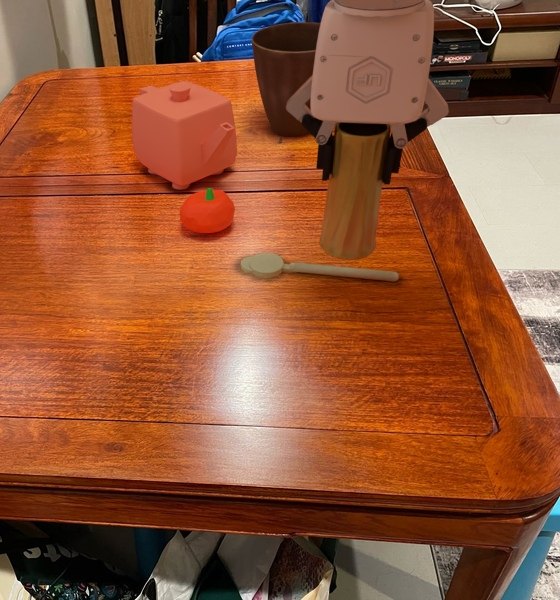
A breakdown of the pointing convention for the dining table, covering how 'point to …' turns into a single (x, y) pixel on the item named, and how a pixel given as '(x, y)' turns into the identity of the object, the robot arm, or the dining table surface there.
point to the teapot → (183, 132)
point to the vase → (354, 190)
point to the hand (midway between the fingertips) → (356, 174)
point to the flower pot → (284, 70)
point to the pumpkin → (207, 211)
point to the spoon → (307, 268)
